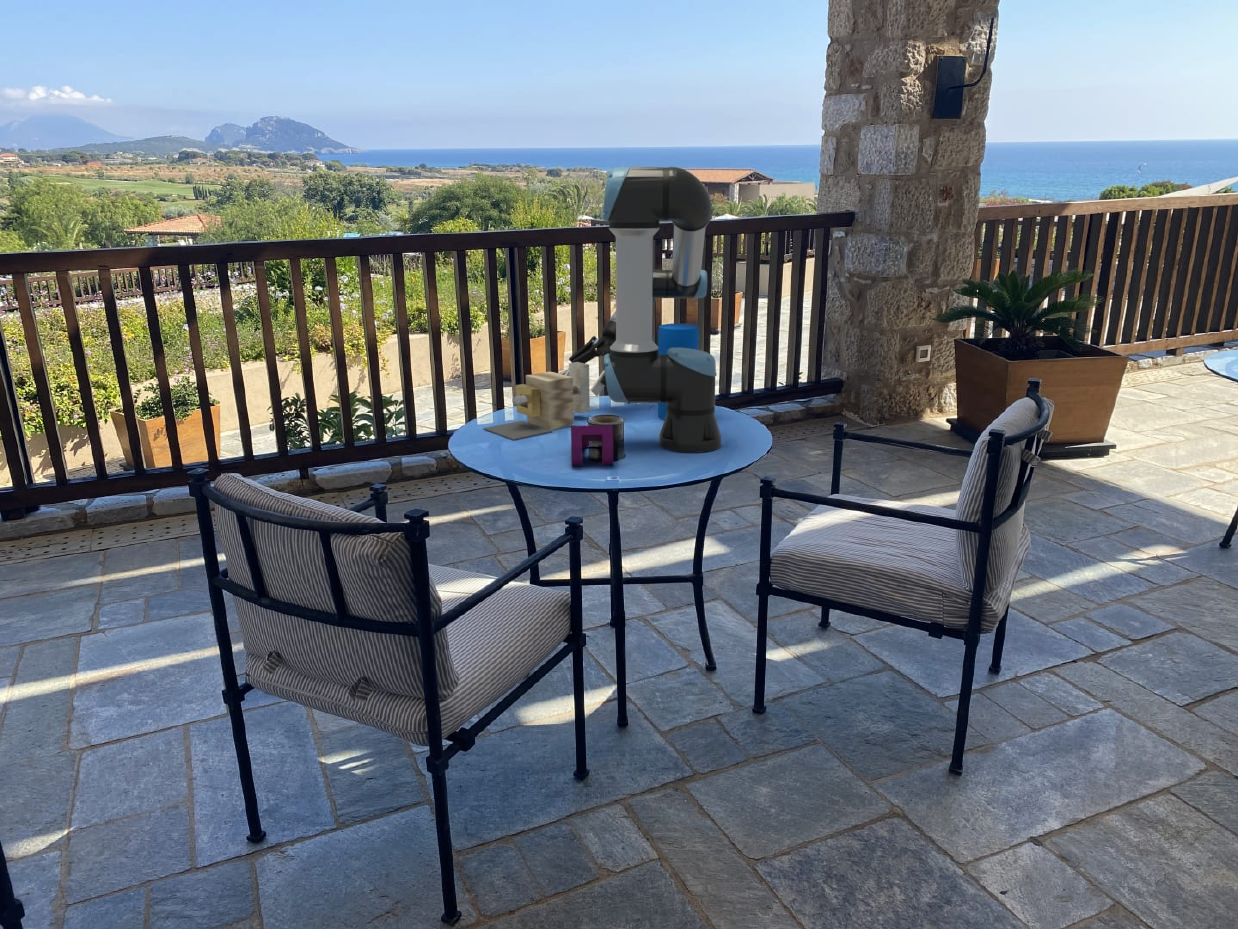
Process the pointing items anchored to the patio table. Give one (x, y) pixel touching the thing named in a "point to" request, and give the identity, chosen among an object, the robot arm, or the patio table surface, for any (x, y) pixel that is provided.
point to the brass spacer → (529, 400)
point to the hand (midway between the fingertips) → (578, 388)
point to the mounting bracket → (592, 433)
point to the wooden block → (553, 400)
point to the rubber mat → (517, 430)
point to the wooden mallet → (579, 388)
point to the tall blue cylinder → (675, 345)
